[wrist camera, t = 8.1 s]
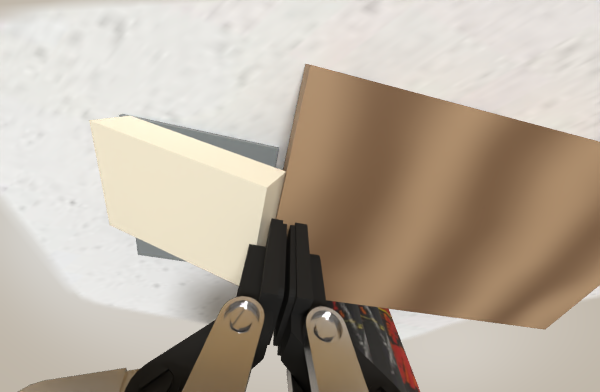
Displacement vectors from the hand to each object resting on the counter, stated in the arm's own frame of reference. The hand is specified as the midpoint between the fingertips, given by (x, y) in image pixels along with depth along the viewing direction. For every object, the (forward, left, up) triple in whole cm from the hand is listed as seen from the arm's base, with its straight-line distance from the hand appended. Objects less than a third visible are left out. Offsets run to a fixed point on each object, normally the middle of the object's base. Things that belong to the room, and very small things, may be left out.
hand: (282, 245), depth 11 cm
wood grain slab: (-10, -2, -5) cm, 11 cm away
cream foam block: (+5, 0, -3) cm, 6 cm away
